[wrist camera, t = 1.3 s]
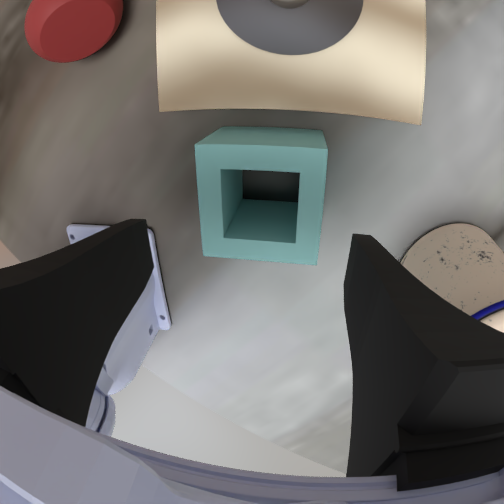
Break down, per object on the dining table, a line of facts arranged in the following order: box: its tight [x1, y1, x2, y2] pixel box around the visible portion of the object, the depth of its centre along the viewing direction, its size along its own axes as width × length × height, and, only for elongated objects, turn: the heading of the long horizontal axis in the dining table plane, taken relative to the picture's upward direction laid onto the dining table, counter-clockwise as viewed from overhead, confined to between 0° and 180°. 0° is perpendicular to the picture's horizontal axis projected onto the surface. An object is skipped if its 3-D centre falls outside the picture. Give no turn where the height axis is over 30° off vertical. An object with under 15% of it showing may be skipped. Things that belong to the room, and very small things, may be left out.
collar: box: [195, 126, 328, 265], centre depth 16 cm, size 6×6×5 cm
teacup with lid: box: [401, 223, 504, 333], centre depth 14 cm, size 12×9×12 cm
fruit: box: [25, 0, 123, 63], centre depth 11 cm, size 6×6×8 cm
